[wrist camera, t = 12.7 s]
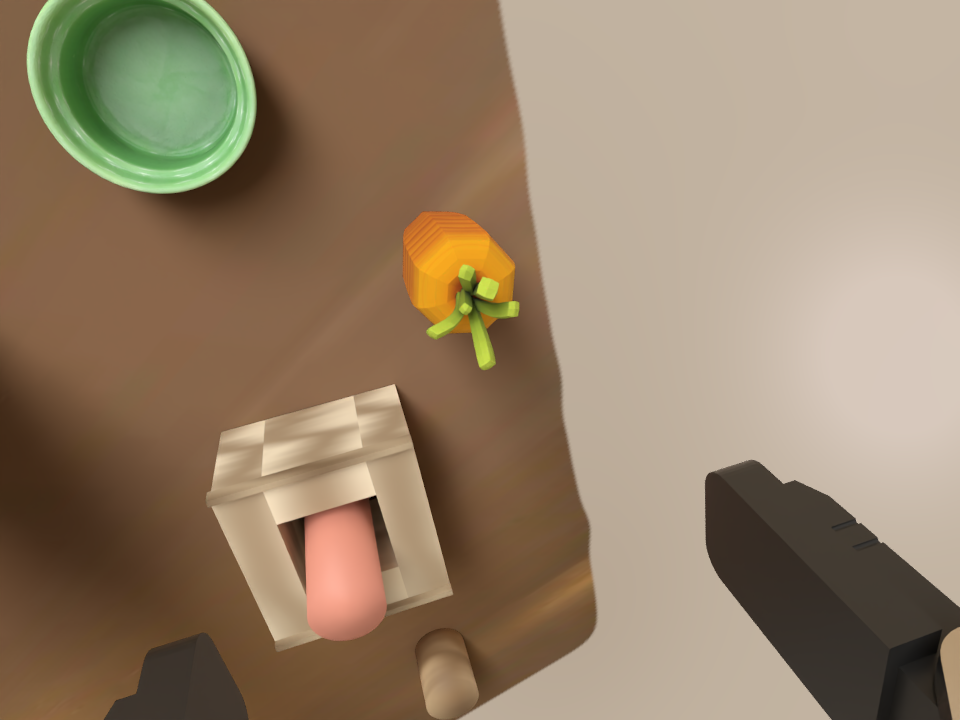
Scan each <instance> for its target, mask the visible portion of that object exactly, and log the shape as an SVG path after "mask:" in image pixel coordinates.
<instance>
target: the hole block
mask: <svg viewBox="0 0 960 720" xmlns="http://www.w3.org/2000/svg"><path fill="white" fill-rule="evenodd" d="M374 495H376V496H377V499H373V500H370V501H369V502H370V508H371V514H372V520H373V526H374V532H375V538H376V543H377V549H378V555H379V561H380V567H381V573H382V579H383V585H384V591H385V597H386V603H387V609H386V614H385V616H384V617H386V616H389V615H392V614H395V613H398V612H401V611H404V610H407V609H410V608H414V607H417V606H420V605H423V604H426V603H429V602H432V601H435V600H438V599H441V598H444V597H447V596H450V595H453V592H452V589H451V585H450V582H449V578H448V574H447V570H446V567H445V563H444V559H443V555H442V552H441V548H440V544H439V540H438V537H437V533H436V529H435V526H434V522H433V518H432V514H431V511H430V507H429V503H428V499H427V496H426V492H425V488H424V484H423V481H422V477H421V473H420V469H419V466H418V462H417V458H416V455H415V451H414V446H413V443H412V439H411V436H410V433H409V430H408V427H407V423H406V420H405V417H404V413H403V410H402V407H401V403H400V400H399V397H398V393H397V390H396V387H395V384H394V385H390V386H387V387H383V388H379V389H376V390H372V391H369V392H365V393H361V394H358V395H354V396H350V397H347V398H343V399H340V400H336V401H332V402H329V403H325V404H322V405H318V406H314V407H311V408H307V409H303V410H300V411H296V412H293V413H289V414H285V415H282V416H278V417H275V418H271V419H267V420H264V421H260V422H257V423H253V424H249V425H246V426H242V427H238V428H235V429H231V430H228V431H224V432H221V436H220V442H219V448H218V454H217V460H216V465H215V471H214V477H213V483H212V489H211V491H210V492H207V496H206V504H207V506H208V508H209V507H212V509H213V511H214V513H215V515H216V517H217V519H218V521H219V523H220V526H221V528H222V530H223V532H224V534H225V536H226V538H227V540H228V543H229V545H230V547H231V549H232V551H233V553H234V555H235V557H236V560H237V562H238V564H239V566H240V568H241V570H242V572H243V574H244V576H245V579H246V581H247V583H248V585H249V587H250V589H251V591H252V593H253V596H254V598H255V600H256V602H257V604H258V606H259V608H260V610H261V613H262V615H263V617H264V619H265V621H266V623H267V625H268V627H269V630H270V632H271V634H272V636H273V638H274V640H275V649H276V651H277V652H279V651H283V650H286V649H289V648H292V647H295V646H298V645H301V644H304V643H307V642H310V641H313V640H316V639H319V638H322V637H321V636H319V635H317V634H316V633H315V632H314V631H313V630H312V629H311V628H310V626H309V624H308V620H307V596H306V561H305V526H304V519H303V517H304V516H308V515H311V514H314V513H318V512H321V511H324V510H328V509H331V508H334V507H338V506H341V505H344V504H348V503H351V502H354V501H358V500H361V499H364V498H368V497H371V496H374Z"/></svg>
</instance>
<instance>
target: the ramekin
mask: <svg viewBox="0 0 960 720" xmlns="http://www.w3.org/2000/svg"><path fill="white" fill-rule="evenodd" d="M27 71H28V78H29V84H30V88H31V92H32V95H33V98H34V100H35V103H36V106H37V108H38V110H39V113H40V114H41V116H42V118H43V120H44V122H45V124H46V125H47V127H48V128H49V130H50V131H51V133H52V134H53V135H54V137H55V138H56V140H57V141H58V142H59V143H60V144H61V145H62V146H63V147H64V148H65V150H66V151H67V152H68V153H69V154H70V155H71V156H73V157H74V158H75V159H76V160H77V161H78V162H80V163H81V164H82V165H83V166H85V167H86V168H88V169H89V170H91V171H92V172H94V173H95V174H97V175H99V176H100V177H102V178H104V179H106V180H108V181H110V182H112V183H115V184H117V185H120V186H122V187H126V188H129V189H132V190H136V191H141V192H147V193H156V194H168V193H179V192H185V191H189V190H192V189H196V188H198V187H201V186H203V185H206V184H208V183H210V182H212V181H214V180H215V179H217V178H218V177H220V176H221V175H223V174H224V173H225V172H226V171H228V170H229V169H230V168H231V167H232V166H233V165H234V164H235V163H236V161H237V160H238V159H239V158H240V156H241V155H242V153H243V152H244V150H245V148H246V147H247V145H248V143H249V140H250V138H251V135H252V132H253V129H254V125H255V119H256V111H257V98H256V88H255V82H254V78H253V74H252V70H251V67H250V64H249V61H248V59H247V56H246V54H245V52H244V50H243V48H242V46H241V44H240V42H239V40H238V38H237V37H236V35H235V34H234V32H233V31H232V29H231V28H230V27H229V25H228V24H227V23H226V21H225V20H224V19H223V18H222V17H221V16H220V15H219V14H218V12H217V11H216V10H215V9H214V8H213V7H212V6H210V5H209V4H208V3H207V2H206V1H205V0H48V1H47V3H46V4H45V5H44V7H43V8H42V10H41V11H40V13H39V15H38V17H37V19H36V20H35V23H34V26H33V28H32V31H31V34H30V38H29V42H28V51H27Z"/></svg>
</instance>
